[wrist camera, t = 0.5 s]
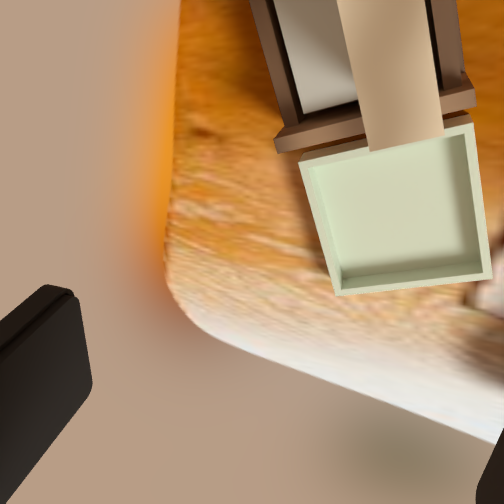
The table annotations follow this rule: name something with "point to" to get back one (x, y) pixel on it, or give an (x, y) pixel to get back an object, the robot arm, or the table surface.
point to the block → (392, 70)
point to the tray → (400, 212)
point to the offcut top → (317, 52)
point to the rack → (349, 114)
